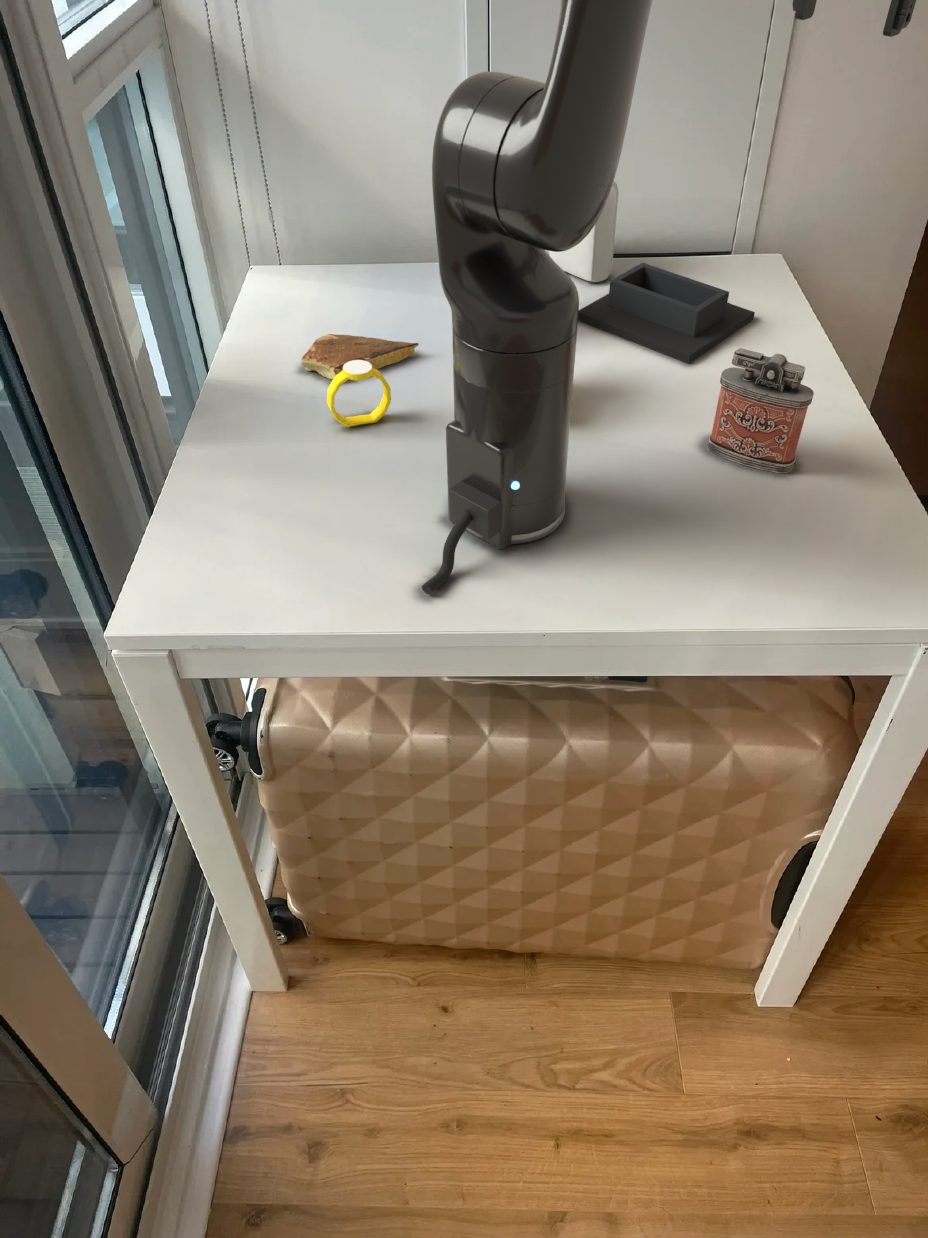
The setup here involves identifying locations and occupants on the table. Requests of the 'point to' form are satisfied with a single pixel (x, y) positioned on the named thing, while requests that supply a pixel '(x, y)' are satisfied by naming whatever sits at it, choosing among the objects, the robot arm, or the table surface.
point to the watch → (358, 372)
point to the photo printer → (593, 246)
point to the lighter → (760, 411)
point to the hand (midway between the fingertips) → (846, 26)
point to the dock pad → (666, 312)
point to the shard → (353, 353)
